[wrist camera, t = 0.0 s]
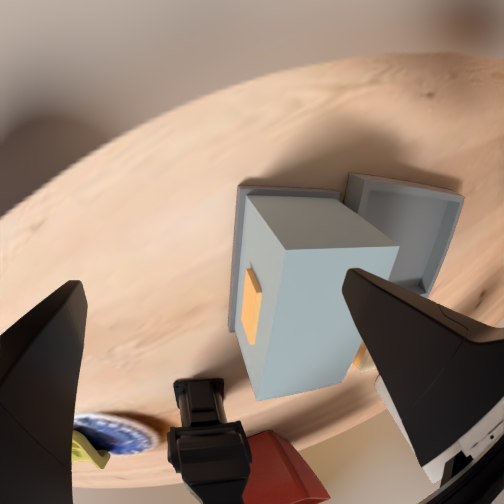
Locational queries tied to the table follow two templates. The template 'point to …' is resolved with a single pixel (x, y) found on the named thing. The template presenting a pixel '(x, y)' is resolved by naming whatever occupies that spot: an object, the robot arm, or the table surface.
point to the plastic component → (87, 451)
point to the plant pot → (280, 474)
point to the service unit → (298, 285)
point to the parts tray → (408, 224)
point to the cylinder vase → (432, 468)
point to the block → (363, 359)
